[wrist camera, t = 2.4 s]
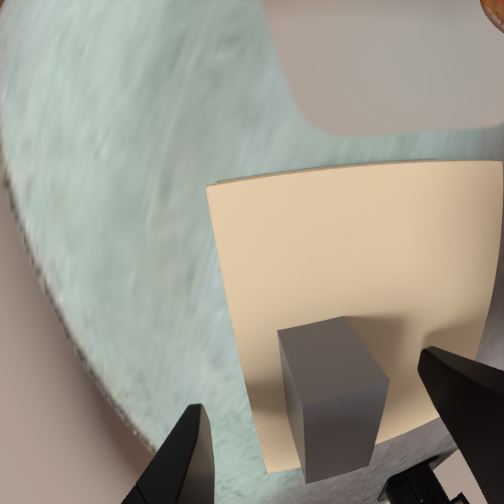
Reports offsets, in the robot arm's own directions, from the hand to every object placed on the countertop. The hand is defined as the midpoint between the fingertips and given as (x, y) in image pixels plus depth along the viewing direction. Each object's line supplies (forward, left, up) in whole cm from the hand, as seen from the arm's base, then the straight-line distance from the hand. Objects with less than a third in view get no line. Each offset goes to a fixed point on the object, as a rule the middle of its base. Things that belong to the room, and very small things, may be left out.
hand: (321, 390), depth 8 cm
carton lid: (0, -3, -1) cm, 3 cm away
